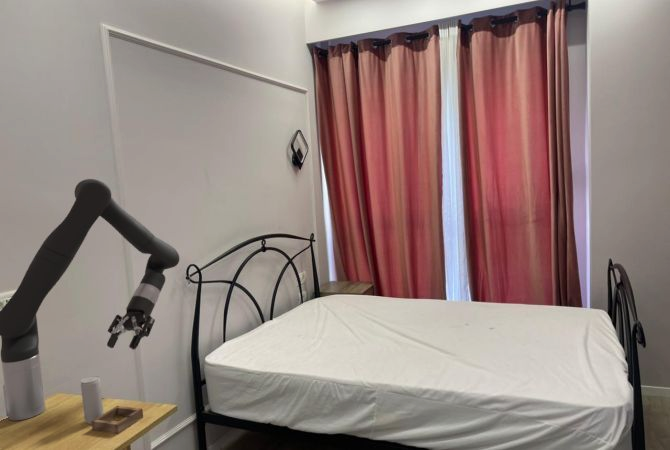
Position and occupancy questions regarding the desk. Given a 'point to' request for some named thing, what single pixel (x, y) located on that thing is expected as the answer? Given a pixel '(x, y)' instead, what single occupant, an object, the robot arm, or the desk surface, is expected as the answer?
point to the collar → (117, 427)
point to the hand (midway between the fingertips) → (120, 347)
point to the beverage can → (92, 398)
